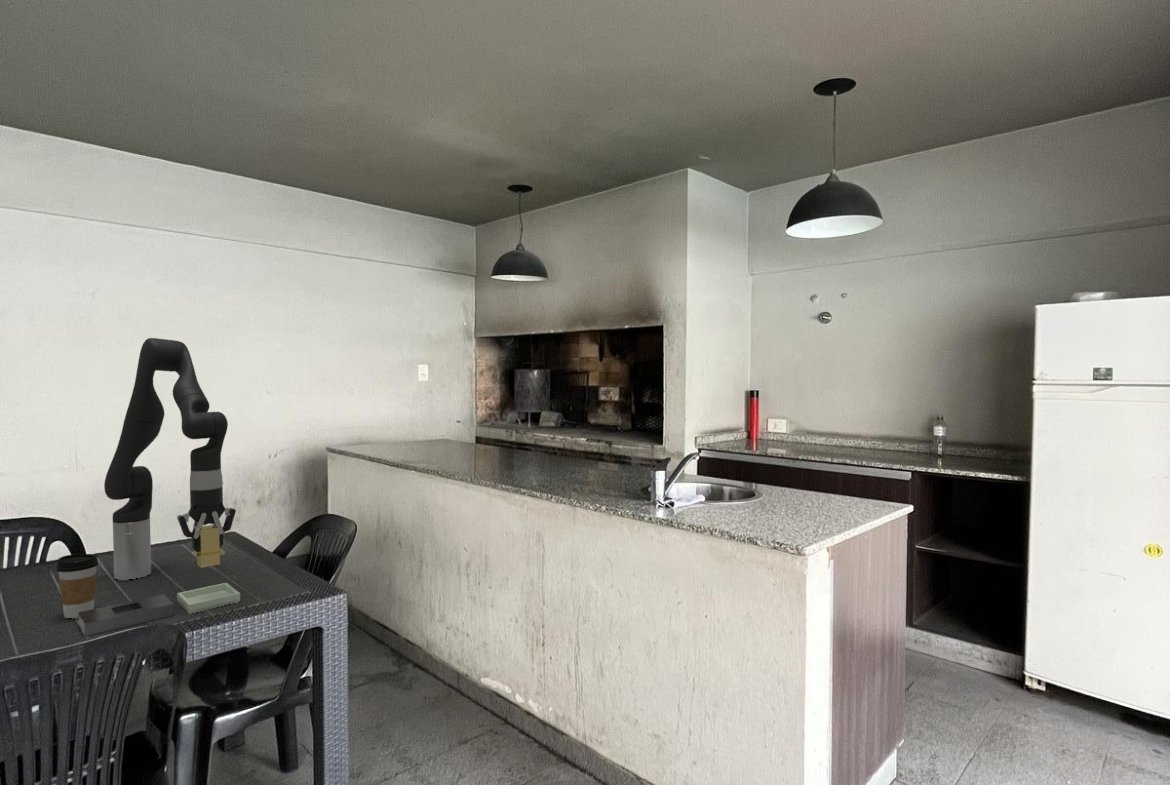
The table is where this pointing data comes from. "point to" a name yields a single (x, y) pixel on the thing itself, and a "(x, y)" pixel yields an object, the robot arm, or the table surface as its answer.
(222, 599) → the parts tray
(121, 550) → the robot arm
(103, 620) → the grey metal block
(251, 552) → the table surface
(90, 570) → the coffee cup
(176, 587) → the table surface
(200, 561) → the brass plug
